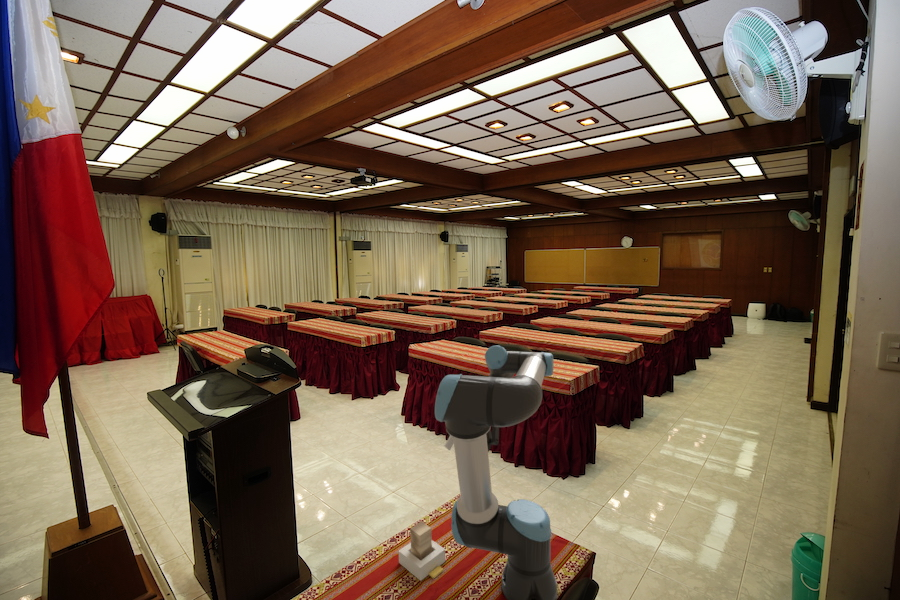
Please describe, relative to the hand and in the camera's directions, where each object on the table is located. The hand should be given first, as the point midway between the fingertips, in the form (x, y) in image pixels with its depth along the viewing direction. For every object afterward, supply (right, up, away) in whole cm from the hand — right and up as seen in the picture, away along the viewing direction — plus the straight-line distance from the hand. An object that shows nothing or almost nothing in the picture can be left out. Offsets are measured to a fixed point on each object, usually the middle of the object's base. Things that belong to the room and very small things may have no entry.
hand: (461, 455), depth 130 cm
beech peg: (-12, -29, -9) cm, 33 cm away
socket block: (-12, -29, -9) cm, 33 cm away
